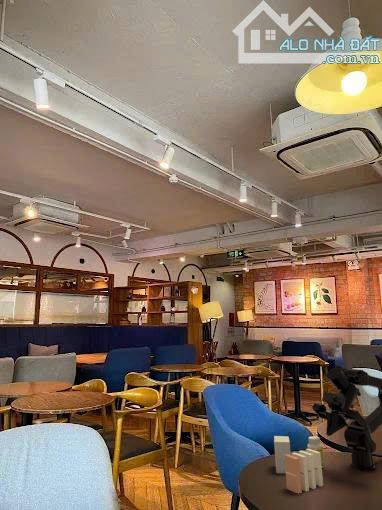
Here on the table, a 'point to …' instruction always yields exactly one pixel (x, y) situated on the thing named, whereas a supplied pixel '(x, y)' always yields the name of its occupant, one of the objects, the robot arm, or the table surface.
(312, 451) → the domino
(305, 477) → the domino
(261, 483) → the table surface
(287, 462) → the domino
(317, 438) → the supplement bottle
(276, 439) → the small box
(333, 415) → the robot arm
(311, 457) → the domino
